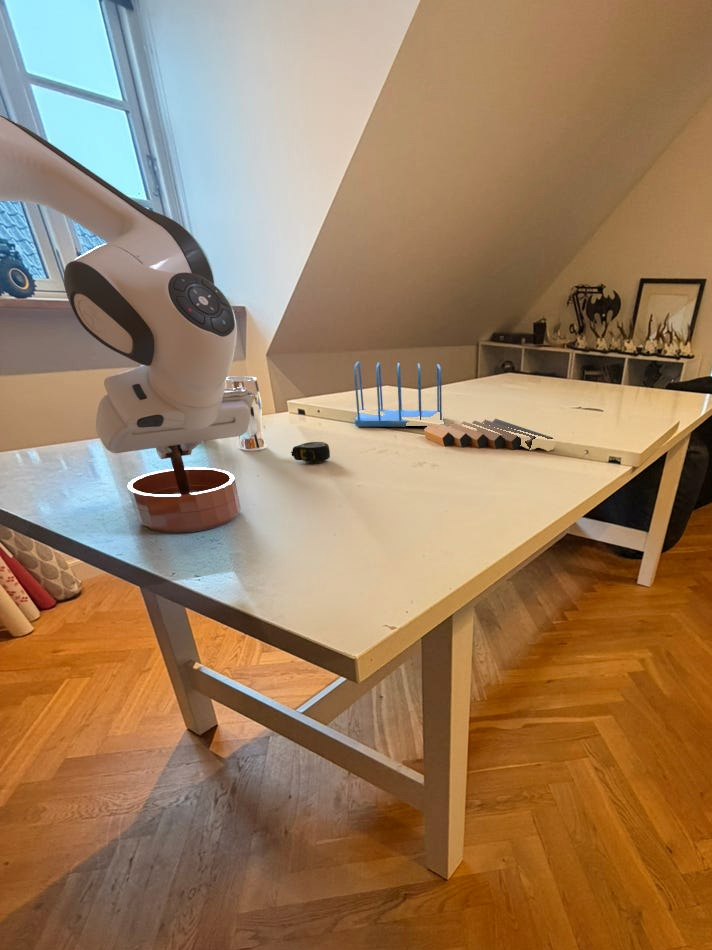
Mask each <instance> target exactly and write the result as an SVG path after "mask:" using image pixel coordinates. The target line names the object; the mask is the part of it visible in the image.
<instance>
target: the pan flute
mask: <svg viewBox="0 0 712 950" xmlns="http://www.w3.org/2000/svg"><path fill="white" fill-rule="evenodd" d="M471 423H473V424H476V425H479V426H482V427H484V428H487V429H490V430H493V431H495V432H498V433H500V434H502V435H499V434H497V433H494V432H491V431H488V430H486V429H483V428H480V427H477V426H475V425H472V424H471ZM471 423H469V422H466V421H462V422H461V424H464V425H467V426H470V427H473V428H476V429H477V431H474V430H471V429H469V428H466V427H463V426H461V425H460V424H458V423H455V422H451V423H450V424H449V425H447V424H445V423H444V424H440V425H439V426H438V427H434V426H432V425H428V426H427V427H424V429H423V433H424V436H425V437H424V438H425V439H427V440H429V441H431V442H433V443H435V444H438V445H440V446H442V447H444V446H445V447H452V446H453V445H455V446H457V447H460V448H469V447H470V446H472V447H474V448H477V449H483V448H484V449H485V448H487V447H489V448H492V449H494V450H500V449H501V450H502V449H504V446H505V448H507V449H510V450H512V451H515V450H516V451H517V450H520V449H521V447H520V445H521V438H520V437H518V436H517V435H514V434H511V433H509V432H506V431H511V432H514V433H519V434H523V435H526V436H529V437H530V438H531V439H530V440H527V441H525V443H526V444H527V446H528V447H529V449H530V448H531V445H532V440H533V439H535V438H536V437H535V436H532V435H529V434H526V433H523V432H520V431H517V430H521V431H524V432H528V433H531V434H534V435H538V436H542V437H545V438H547V439H554V438H553V436H549V435H546V434H543V433H541V432H537V431H534V430H531V429H528V428H526V427H522V426H519V425H516V424H513V423H510V422H507V421H504V420H501V419H498V418H494V419H493V421H491V420H488V419H484V420H483V421H482V422H481V421H477V420H473V422H471ZM483 423H484V424H483ZM489 425H490V426H489ZM449 426H451V427H449ZM494 427H495V428H494ZM508 427H509V428H508ZM497 428H499V429H497ZM511 428H512V429H511ZM500 429H502V430H500ZM514 429H516V430H514ZM503 430H506V431H503ZM519 448H520V449H519Z"/></svg>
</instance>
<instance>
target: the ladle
mask: <svg viewBox="0 0 712 950" xmlns="http://www.w3.org/2000/svg"><path fill="white" fill-rule="evenodd" d="M169 448H170V449H171V451H172V455H171V456H172V457H171V458H169V459H170V462H171V465H172V469H173V470H174V474H175V478H176V481H177V485H178V489H179V492H175V493H172V494H170V495H182V494H193V493H198V492H199V491H193V490H190V488H189V484H188V480H187V476H186V472H185V468H186V467H185V464H184V460H183V456H181V452H180V448H179V445H172V446H169Z"/></svg>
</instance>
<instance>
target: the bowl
mask: <svg viewBox="0 0 712 950" xmlns="http://www.w3.org/2000/svg"><path fill="white" fill-rule="evenodd" d="M184 468H185V472H186V476H187V480H188V484H189V488H190V490H193V491H199V492H198V493H193V494H182V495H170V494H172V493H175V492H179V489H178V485H177V481H176V478H175V474H174V470H173V468H172V469H165V470H159V471H154V472H150V473H147V474H143V475H141V476H138V477H136V478H133V479H131V480H130V482H128V484H127V490H128V493H129V497H130V500H131V503H132V507H133V510H134V513H135V516H136V520H137V521H138V522H139V523H140V524H141V525H143V526H145V527H147V528H148V529H150V530H152V531H156V532H161V533H170V534H175V533H176V534H181V533H182V534H183V533H196V532H202V531H207V530H212V529H215V528H219V527H222V526H225V525H226V524H228V523H230V522H232V521H234V520H235V518H237V516H238V515H239V513H240V512H241V510H242V506H241V503H240V498H239V493H238V487H237V482H236V479H235V476H234V474H232V473H230V472H229V471H226V470H221V469H217V468H209V467H208V468H207V467H184Z"/></svg>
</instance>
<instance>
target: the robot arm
mask: <svg viewBox="0 0 712 950" xmlns="http://www.w3.org/2000/svg"><path fill="white" fill-rule="evenodd" d="M0 202H19V203H30V204H35V205H38V206H43V207H46V208H48V209H52V210H54V211H56V212H58V213H60V214H62V215H64V216H65V217H67V218H68V219H70V220H72V221H73V222H74V223H76V224H78V225H79V226H80V227H82V228H84V229H85V230H87V231H89V232H90V233H91V234H93V235H95V236H96V237H98V238H99V239H101V240H102V241H104V242H105V243H104V244H101V245H99V246H96V247H94V248H93V249H90V250H88V251H87V252H85V253H83V254H81V255H79V256H78V257H76V258H75V259H73V260H72V261H70V262H68V263H67V264H66V266H65V268H64V271H63V272H64V273H63V284H64V290H65V294H66V297H67V300H68V303H69V305H70V307H71V309H72V311H73V313H74V316H75V317H76V319H77V320H78V322H79V324H80V325H81V327H82V328H83V329H84V330H85V331H86V332H87V333H88V334H89V335H91V336H92V337H93V338H94V339H95V340H96V341H98V342H99V343H101V344H102V345H104V347H106V348H108V349H109V350H112V351H113V352H116V353H117V354H119V355H122V356H123V357H125V358H127V359H129V360H131V361H133V362H135V363H137V364H140V366H138V367H135V368H132V369H130V370H127V371H122V372H119V373H115V374H112V375H109V376H107V377H106V378H104V381H103V385H104V389H105V391H106V395H104V396H103V397H102V398H101V399H100V400H99V402H98V406H97V412H96V416H95V417H96V419H95V430H96V434H97V435H98V438H99V439H100V441H101V443H102V445H103V446H104V448H105V449H106V450H107V451H108V452H110V453H112V454H121V453H123V454H124V453H129V452H136V451H137V452H138V451H142V450H150V449H155V450H156V453H157V455H158V457H159V459H160V460H165V459H170V458H171V457H172V456H171V455H172V451H171V449H170V448H169V446H172V445H179V448H180V452H181V456H182V457H184V456H191V455H192V451H193V450H194V449H195V448H197V447H198V446H199V445H201V444H202V442H207V441H208V442H209V441H214V440H222V439H229V438H235V437H239V436H241V435H243V434H244V433H246V432H247V430H248V426H249V421H250V409H249V407H251V405H252V403H253V400H254V394H253V393H252V392H251V391H249V390H247V389H246V388H241V387H240V388H236V389H226V383H225V380H226V378H227V377H229V375H230V373H231V369H232V365H233V361H234V358H235V351H236V346H237V338H238V337H237V336H238V334H237V333H238V330H237V329H238V327H237V320H236V316H235V312H234V309H233V306H232V305H231V302H230V301H229V299H228V298H227V296H226V295H225V293H223V291H222V290H220V288H219V287H217V286H216V285H215V276H214V271H213V267H212V264H211V261H210V259H209V257H208V254H207V252H206V250H205V249H204V248H203V246H202V245H201V243H200V242H199V240H198V239H197V238H196V237H195V236H194V235H193V234H192V233H191V232H190V231H189V230H187V229H186V228H185V227H184V226H183V225H181V224H180V223H178V222H177V221H175V220H174V219H171V218H170V217H169V216H167V215H164V214H161V213H159V212H156V211H154V210H152V209H149V208H148V207H145V206H143V205H142V204H140V203H139V202H137V201H135V200H133V199H132V198H131V197H129V196H128V195H126V194H125V193H123V192H122V191H120V189H117V188H116V187H115V186H113V185H112V184H111V183H109V182H108V181H106V180H105V179H103V178H101V177H100V176H99V175H97V174H96V173H94V172H93V171H91V169H88V168H87V167H86V166H84V165H83V164H82V163H80V162H78V161H77V160H75V159H74V158H73V157H71V156H70V155H68V154H67V153H66V152H64V151H62V150H61V149H59V148H58V147H57V146H55V145H53V144H52V143H51V142H49V141H48V140H46V139H44V138H43V137H41V136H40V135H38V134H37V133H35V132H34V131H32V130H31V129H29V128H27V127H25V126H23V125H22V124H20V123H19V122H16V121H14V120H11V119H10V118H7V117H5V116H3V115H2V114H1V115H0Z"/></svg>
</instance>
